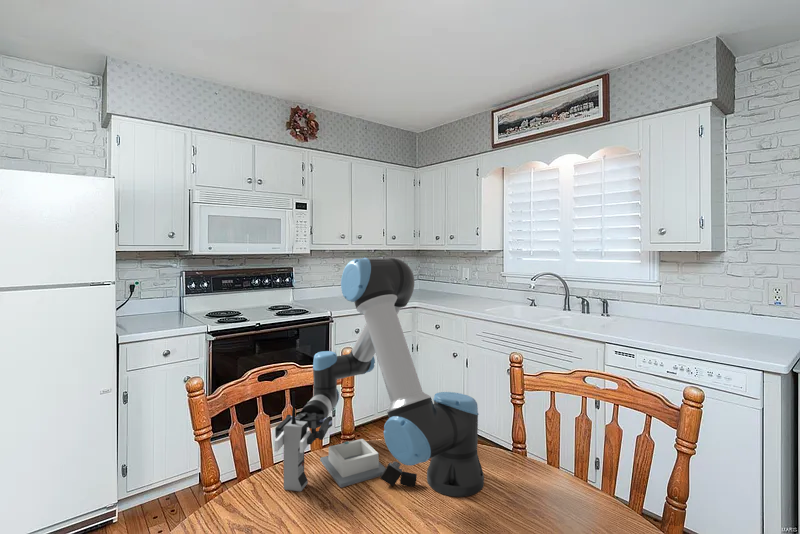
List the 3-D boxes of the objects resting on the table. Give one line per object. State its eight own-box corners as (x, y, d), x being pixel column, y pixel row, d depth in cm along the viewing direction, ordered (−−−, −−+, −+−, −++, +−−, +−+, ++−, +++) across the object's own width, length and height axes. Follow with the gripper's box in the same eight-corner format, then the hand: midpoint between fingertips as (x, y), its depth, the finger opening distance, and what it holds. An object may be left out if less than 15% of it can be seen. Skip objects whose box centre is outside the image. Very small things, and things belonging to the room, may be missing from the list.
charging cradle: (388, 473, 113) (388, 454, 113) (340, 487, 106) (340, 467, 106) (363, 450, 127) (363, 433, 127) (320, 461, 120) (320, 443, 120)
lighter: (408, 491, 109) (419, 474, 109) (408, 496, 107) (420, 479, 107) (380, 473, 109) (392, 456, 109) (380, 478, 107) (392, 460, 107)
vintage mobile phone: (301, 492, 104) (301, 394, 103) (283, 489, 105) (283, 393, 104) (307, 484, 108) (307, 390, 107) (290, 482, 109) (290, 388, 108)
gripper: (346, 425, 123) (325, 463, 100) (286, 422, 125) (252, 459, 102) (346, 400, 123) (325, 433, 100) (286, 398, 125) (252, 430, 102)
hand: (288, 446), depth 101 cm, fingers open, 6 cm apart
